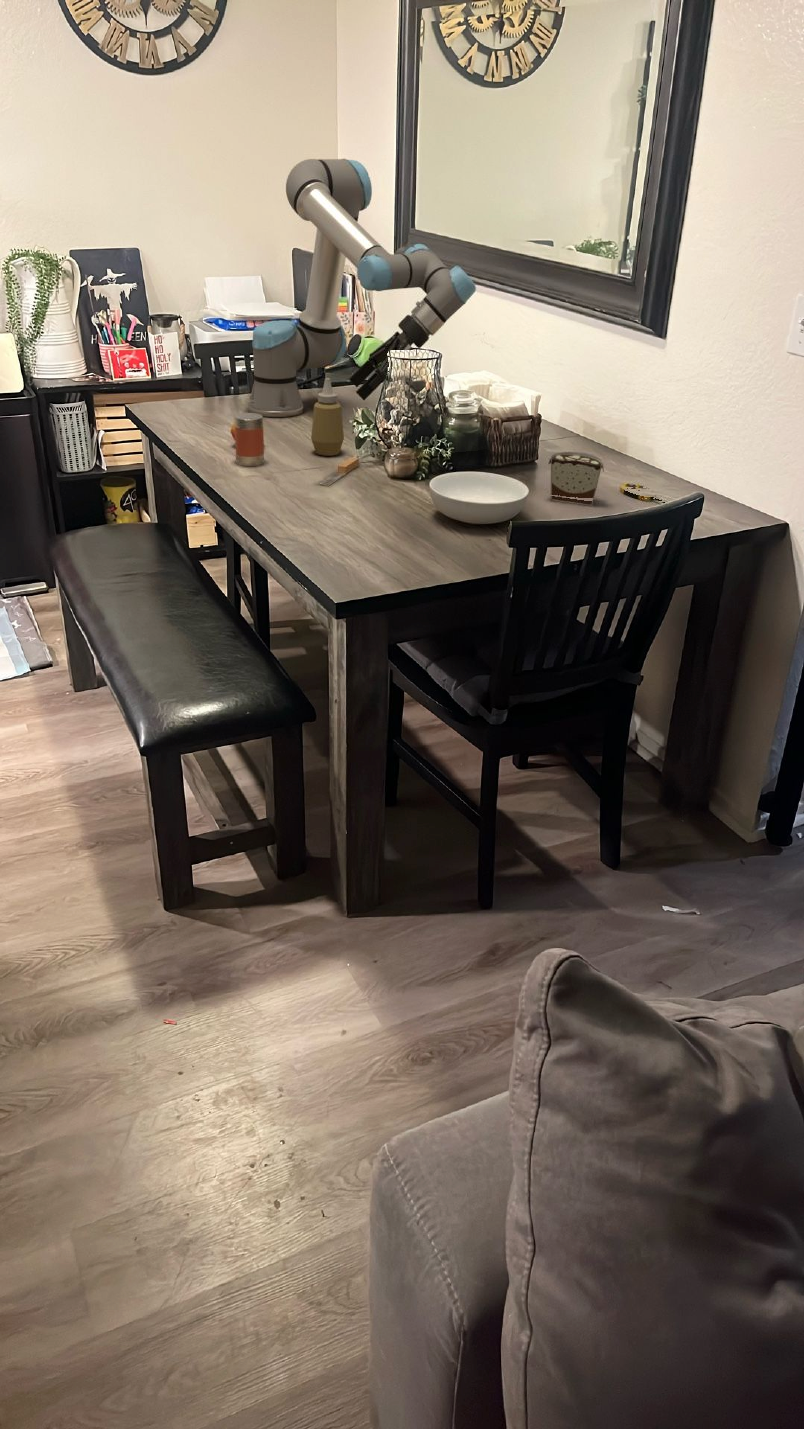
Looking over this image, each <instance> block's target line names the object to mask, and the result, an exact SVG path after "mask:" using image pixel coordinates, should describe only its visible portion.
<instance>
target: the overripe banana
mask: <svg viewBox="0 0 804 1429" xmlns="http://www.w3.org/2000/svg"><path fill="white" fill-rule="evenodd" d="M621 485H622V486H624V487H633V488H631V489H639V488H641V489H647V488H648V489H650V488H649V487H646V488H643V487H644V486H643V485H640V484H635V483H632V482H625V483H621V484H620V486H621ZM620 486H619V491H620V492H621V493H623V494H624V495H625V496H627V497H629V498H633V499H636V500H640V501H644V502H651V501H657V502H659V501H662V500H663V499H661V500H659V499H660V498H659V499H656V498H657V497H656V495H657V494H656V495H655V497H656V498H655V499H653V498H654V497H644V496H640V495H636V494H633V493H630V492H628V491H625V490H624V489H622V488H621V487H620ZM636 487H638V488H636ZM627 489H628V488H627ZM629 489H630V488H629ZM638 491H640V490H638ZM642 498H643V499H642ZM645 498H647V499H645ZM661 503H662V504H664V503H665V502H661Z"/></svg>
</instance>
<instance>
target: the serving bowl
mask: <svg viewBox="0 0 804 1429" xmlns="http://www.w3.org/2000/svg"><path fill="white" fill-rule="evenodd" d="M428 486H429V487H428V488H429V494H430V499H431V501H432V503H433V505H434V506H435V508H436V509H437V510H438V511H439V513H441V514H443V515H444V516H446V517H448V518H450V519H452V520H455V521H459V522H463V523H466V524H470V525H471V524H472V525H491V524H497V523H502V522H505V521H508V520H511V519H512V518H514V517H516V516H517V515H518V514H519V513H521V511H522V510H523V509H524V507H525V505H526V503H527V501H528V497H529V494H530V490H529V487H528V486H527V485H526V484H525V483H524V482H522V481H520V480H519V479H516V478H513V477H510V476H506V475H502V474H497V473H492V472H484V471H456V472H447V473H443V474H440V475H437V476H435V477H433V478H432V479H431V480H430V481H429V484H428Z"/></svg>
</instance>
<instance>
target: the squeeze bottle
mask: <svg viewBox="0 0 804 1429" xmlns="http://www.w3.org/2000/svg"><path fill="white" fill-rule="evenodd" d="M310 434H311V435H310V440H311V443H312V446H313V448H314V452H315V454H317V455H319V456H324V457H325V456H326V457H327V456H328V457H329V456H330V457H331V456H337V455H339V454H340V452H341V449H342V446H343V443H344V440H345V436H344V424H343V413H342V405H341V404H340V403H339V402H338V394H337V393H335V392H334V391H333V387H332V382H331V378H329V377H327V378H324V383H323V387H322V392H318V394H317V402H315V404H314V405H313V413H312V424H311V433H310Z"/></svg>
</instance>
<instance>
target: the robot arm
mask: <svg viewBox="0 0 804 1429" xmlns="http://www.w3.org/2000/svg"><path fill="white" fill-rule="evenodd" d="M285 193H286V194H285V195H286V199H287V201H288V204H289V205H290V207H291V209H292V210H293V211H294V213H296V214H297V216H298V217H300V218H301V219H302V220H304V221H305V222H310V223H312V224H313V226H314V227H315V228H316V233H315V240H314V247H313V254H312V261H311V268H310V276H309V282H308V289H307V290H308V291H307V298H306V305H305V309H304V310H303V311H301V312H300V313H299V315H298V321H297V325H296V323H295V322H294V321H291V320H286V319H285V320H284V319H283V320H282V319H281V320H280V319H279V320H269V321H265V322H263V323H260V324H258V325H257V326H255V327H254V329H253V331H252V342H251V346H252V358H253V362H252V363H253V385H252V389H251V392H250V396H249V399H248V402H247V403H248V405H247V411H248V413H257V414H260V415H262V416H263V418H288V417H295V416H298V415H300V414H302V413H303V412H304V404H303V403H304V402H303V399H302V397H301V394H300V390H299V386H300V385H303V384H306V383H310V382H312V381H315V380H317V379H320V378H322V377H323V376H324V375H325V374H326V371H327V370H326V368H328V367H330V366H331V367H332V366H334V365H337V364H338V363H340V361H342V359H343V357H344V356H345V353H346V350H347V337H346V331H345V329H344V327H343V325H342V322H341V320H340V318H339V317H338V309H339V303H340V296H341V291H342V285H343V279H344V271H345V267H346V266H345V265H346V261H347V260H348V261H349V262H350V263H351V264H352V265H353V266H354V267H355V268H356V277H357V279H358V281H359V284H360V286H361V287H362V288H363V290H366V291H370V292H371V291H372V292H373V291H375V292H383V291H391V290H402V289H413V288H414V289H415V288H419V289H420V290H422V291H423V292H424V293H425V294H426V295H425V296H424V297H423V299H422V300H420V301H416V302H415V307H414V308H413V309H412V310H411V311H410V312H411V314H406V315H405V317H404V318H402V320H401V321H400V322H399V323H398V324H397V325H398V326H397V327H398V328H399V329H400V330H401V331H402V332H401V333H400V332H399V330H398V331H395V332H394V334H393V335H391V337H389V338H388V339H386V340H385V342H383V343H382V344H381V345H379V346H378V347H377V348H376V349H374V350H373V351H372V352H370V353H369V355H368V359H367V360H366V361H365V362H364V363H363V364H362V365H361V366H360V367H359V368H358V369H356V371H355V372H354V373H353V374H352V375H351V376H350V377H349V378H348V380H349V381H350V382H351V383H352V384H353V385H354V387H356V388H357V390H356V391H355V393H356V394H357V395H358V396H359V397H360V398H361V399H362V401H366V400H367V399H368V397H369V396H370V395H371V394H372V393H373V392H374V391H376V389H377V388H379V386H380V385H381V384H382V383H383V382H385V381H387V382H388V381H389V380H388V376H387V379H386V375H387V367H389V362H388V357H387V353H388V351H390V350H413V351H414V348H413V346H412V345H414V346H416V348H418V349H420V348H422V347H423V346H424V345H425V344H426V343H427V342H428V341H429V340H430V336H431V337H432V336H434V335H435V334H436V333H438V331H439V330H440V329H441V328H442V327H443V326H444V325H445V323H447V321H448V320H449V319H451V317H452V316H454V314H455V313H456V312H458V311H459V310H460V309H461V308H462V307H463V306H464V305H466V303H467V302H468V300H469V299H470V298H472V296H473V295H474V294H475V292H476V290H477V286H476V284H475V283H474V281H473V280H472V279H471V277H470V276H469V275H468V274H467V273H466V271H465V270H463V269H462V267H460V266H458V265H455V266H454V267H453V268H451V269H449V268H448V267H447V265H445V264H444V263H443V262H442V260H441V259H440V258H439V257H438V256H437V255H436V253H435V252H434V251H432V250H431V249H430V248H428V246H426V245H425V244H423V243H417V244H414V245H413V246H410V247H409V248H408V249H407V250H405V251H404V253H395V254H391V253H390V252H388V251H387V250H386V249H385V248H384V247H383V246H382V245H381V244H380V243H379V241H377V240H376V239H375V238H374V237H373V236H372V235H371V234H370V233H369V232H368V231H367V230H366V229H365V228H364V227H363V226H362V225H361V224H360V223H359V215H360V212H363V211H364V210H366V209H367V208H368V207H369V206H370V204H371V201H372V194H373V187H372V181H371V177H370V176H369V172H368V170H367V168H366V167H365V165H364V164H362V163H361V162H360V161H358V160H355V159H347V158H331V159H330V158H329V159H328V158H326V159H325V158H324V159H323V158H320V159H317V158H308V159H304V160H302V161H299V162H298V163H296V164H295V165H294V166H293V167H292V169H291V170H290V172H289V174H288V175H287V178H286V182H285ZM346 259H347V260H346ZM380 364H382V365H381V366H380ZM320 368H321V369H323V368H324V374H323V375H320V374H318V375H316V376H313V377H310V378H308V379H304V380H301V381H299V382H297V371H303V370H310V369H320ZM373 372H374V373H373ZM388 372H389V371H388ZM369 376H370V377H369ZM368 377H369V378H368ZM367 378H368V379H367ZM366 379H367V380H366ZM385 379H386V380H385ZM365 380H366V381H365ZM364 381H365V382H364ZM362 383H363V384H362ZM360 385H361V386H360ZM358 387H359V388H358Z"/></svg>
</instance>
